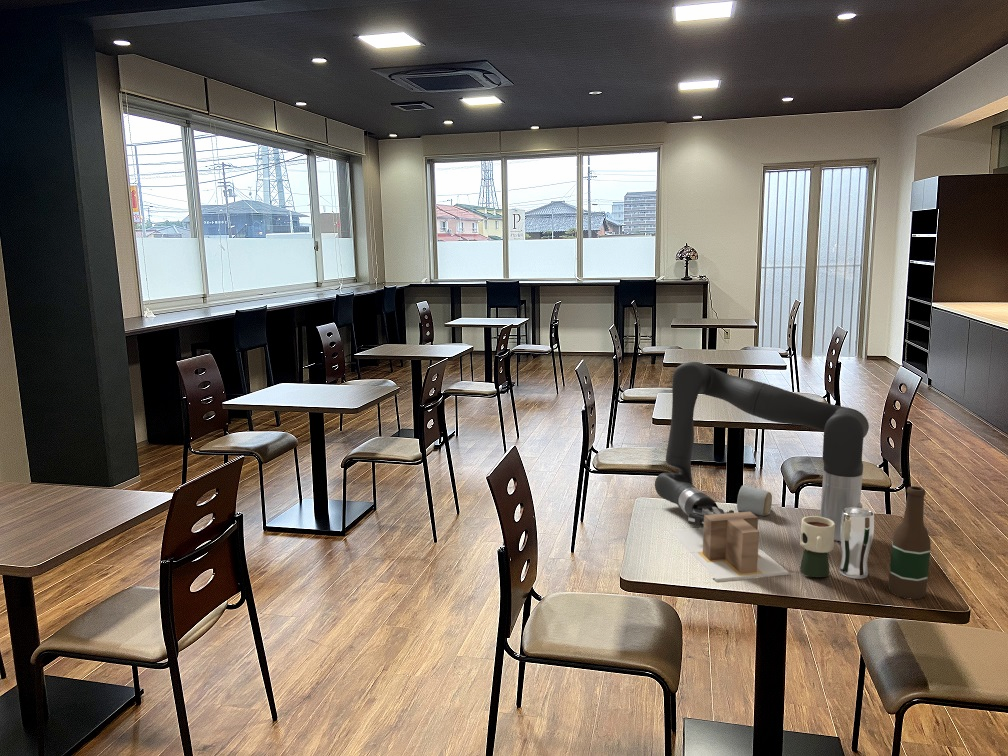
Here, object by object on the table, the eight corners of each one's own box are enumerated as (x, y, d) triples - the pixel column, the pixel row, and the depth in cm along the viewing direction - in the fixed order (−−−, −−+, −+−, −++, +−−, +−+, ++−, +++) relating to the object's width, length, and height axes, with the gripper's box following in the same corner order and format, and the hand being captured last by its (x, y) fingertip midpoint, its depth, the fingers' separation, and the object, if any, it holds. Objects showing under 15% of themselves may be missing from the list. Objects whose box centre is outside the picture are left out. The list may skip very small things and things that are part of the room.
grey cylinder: (765, 520, 210) (767, 493, 209) (735, 515, 214) (737, 488, 213) (774, 509, 219) (776, 483, 217) (745, 504, 223) (747, 478, 222)
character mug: (796, 562, 184) (800, 511, 181) (828, 566, 182) (832, 514, 179) (799, 582, 174) (803, 528, 171) (833, 586, 171) (837, 532, 169)
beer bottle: (933, 600, 165) (944, 494, 160) (897, 600, 165) (907, 494, 160) (915, 583, 172) (925, 482, 168) (880, 583, 173) (889, 482, 168)
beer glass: (867, 582, 173) (873, 519, 170) (834, 575, 177) (839, 514, 174) (871, 570, 179) (877, 510, 176) (839, 564, 183) (844, 504, 180)
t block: (702, 553, 188) (704, 515, 186) (748, 549, 190) (750, 511, 188) (724, 575, 176) (726, 534, 174) (772, 570, 178) (775, 530, 176)
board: (667, 532, 203) (667, 530, 203) (730, 527, 206) (730, 525, 206) (715, 581, 175) (715, 578, 175) (788, 574, 178) (788, 571, 178)
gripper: (674, 493, 203) (701, 517, 186) (721, 490, 205) (752, 513, 188) (673, 520, 204) (700, 546, 187) (719, 516, 206) (751, 542, 190)
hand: (726, 529), depth 188 cm, fingers closed
